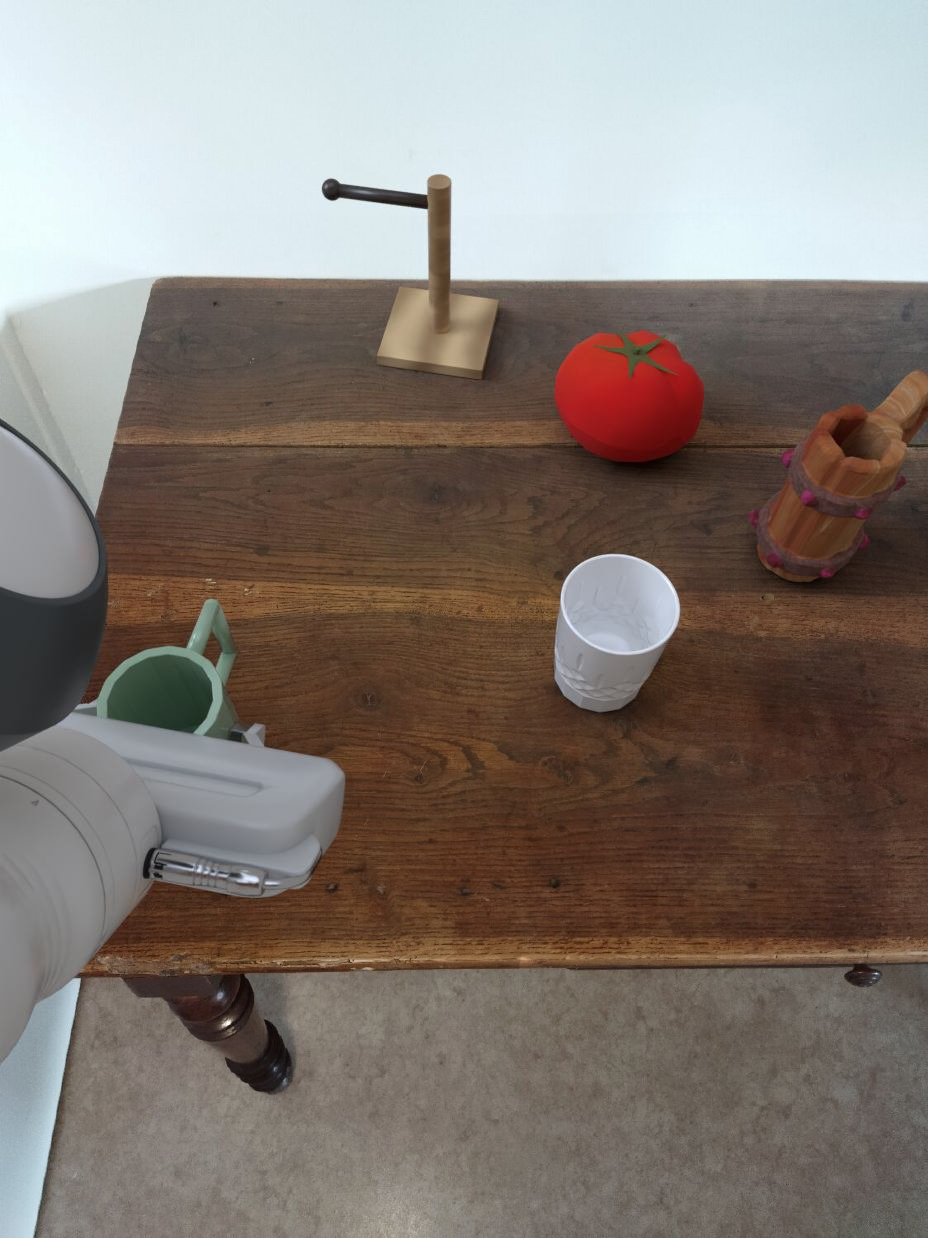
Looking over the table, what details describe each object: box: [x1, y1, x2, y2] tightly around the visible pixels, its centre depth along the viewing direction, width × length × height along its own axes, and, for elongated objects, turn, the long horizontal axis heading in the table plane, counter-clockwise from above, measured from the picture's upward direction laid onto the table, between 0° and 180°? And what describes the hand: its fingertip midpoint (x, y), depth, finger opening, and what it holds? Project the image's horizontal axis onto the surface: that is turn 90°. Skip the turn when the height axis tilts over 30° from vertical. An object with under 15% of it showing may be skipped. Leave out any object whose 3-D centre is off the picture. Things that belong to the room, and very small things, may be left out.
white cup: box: [553, 553, 681, 713], centre depth 63 cm, size 8×8×10 cm
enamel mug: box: [96, 598, 241, 740], centre depth 48 cm, size 10×6×9 cm, turn 170°
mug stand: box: [321, 173, 500, 380], centre depth 79 cm, size 15×10×16 cm, turn 80°
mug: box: [748, 369, 928, 583], centre depth 67 cm, size 15×8×15 cm, turn 131°
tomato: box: [554, 327, 705, 463], centre depth 75 cm, size 11×13×10 cm
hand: (183, 723), depth 47 cm, fingers closed on enamel mug, 6 cm apart
